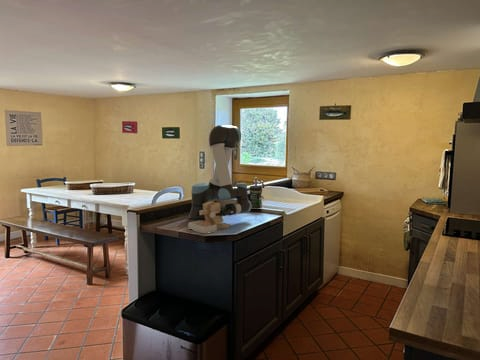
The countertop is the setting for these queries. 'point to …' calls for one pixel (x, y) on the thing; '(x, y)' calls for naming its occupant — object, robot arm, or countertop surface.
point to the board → (222, 226)
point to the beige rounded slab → (202, 227)
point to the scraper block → (210, 208)
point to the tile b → (207, 224)
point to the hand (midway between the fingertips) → (205, 214)
